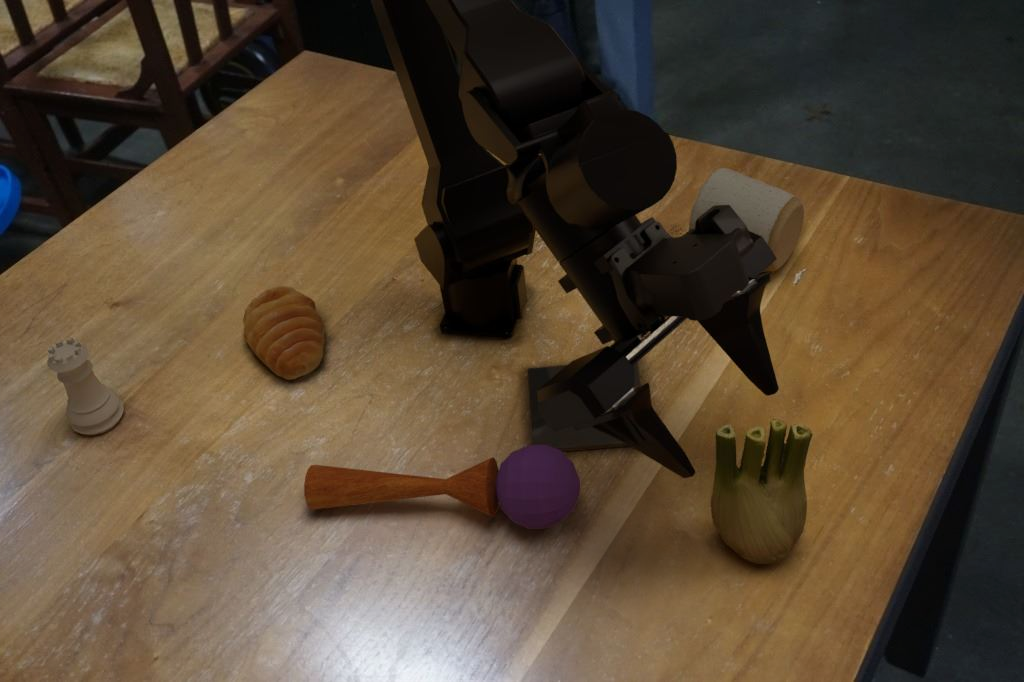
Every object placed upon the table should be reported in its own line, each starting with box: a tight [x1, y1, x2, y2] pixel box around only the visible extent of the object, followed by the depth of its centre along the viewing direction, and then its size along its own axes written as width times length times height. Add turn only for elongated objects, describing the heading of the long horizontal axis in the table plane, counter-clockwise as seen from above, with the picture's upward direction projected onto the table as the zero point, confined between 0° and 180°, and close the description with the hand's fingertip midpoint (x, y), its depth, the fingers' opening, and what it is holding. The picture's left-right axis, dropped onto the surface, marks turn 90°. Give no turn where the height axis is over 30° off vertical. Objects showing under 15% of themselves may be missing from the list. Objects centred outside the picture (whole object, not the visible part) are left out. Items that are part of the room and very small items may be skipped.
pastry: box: [242, 285, 326, 380], centre depth 95 cm, size 9×7×4 cm
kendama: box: [303, 444, 581, 530], centre depth 80 cm, size 6×6×20 cm
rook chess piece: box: [46, 337, 125, 436], centre depth 89 cm, size 4×4×8 cm
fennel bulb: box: [710, 418, 814, 565], centre depth 72 cm, size 6×5×12 cm
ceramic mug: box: [687, 167, 805, 273], centre depth 98 cm, size 11×8×8 cm
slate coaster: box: [527, 362, 642, 453], centre depth 87 cm, size 9×9×1 cm
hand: (733, 433), depth 71 cm, fingers open, 9 cm apart
